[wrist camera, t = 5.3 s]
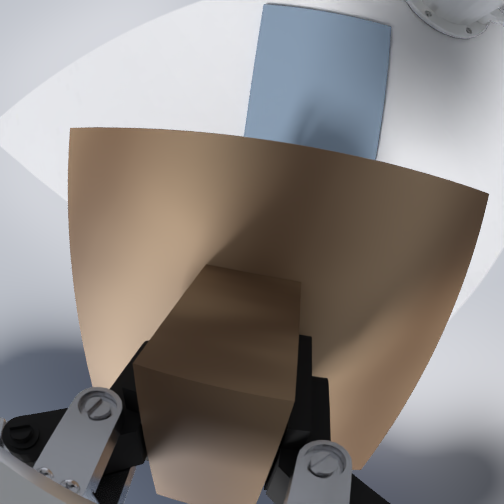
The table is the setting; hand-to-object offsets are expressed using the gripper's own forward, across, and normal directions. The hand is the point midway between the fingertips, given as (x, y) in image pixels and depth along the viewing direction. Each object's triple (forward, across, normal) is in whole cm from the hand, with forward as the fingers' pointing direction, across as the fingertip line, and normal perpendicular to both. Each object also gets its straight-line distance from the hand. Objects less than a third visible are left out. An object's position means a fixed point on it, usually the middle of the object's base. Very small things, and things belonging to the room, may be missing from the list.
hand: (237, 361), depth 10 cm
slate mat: (+26, -2, -14) cm, 30 cm away
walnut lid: (+2, 0, 0) cm, 2 cm away
